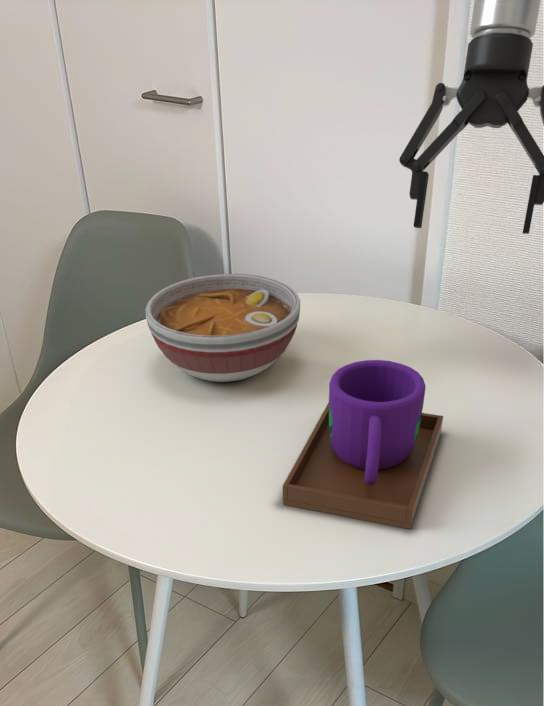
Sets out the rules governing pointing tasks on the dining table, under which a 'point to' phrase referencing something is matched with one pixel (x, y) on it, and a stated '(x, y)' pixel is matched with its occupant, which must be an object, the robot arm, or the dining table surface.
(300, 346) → the dining table surface
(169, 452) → the dining table surface
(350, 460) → the mug
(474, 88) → the robot arm
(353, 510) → the tray
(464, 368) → the dining table surface
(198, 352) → the bowl
